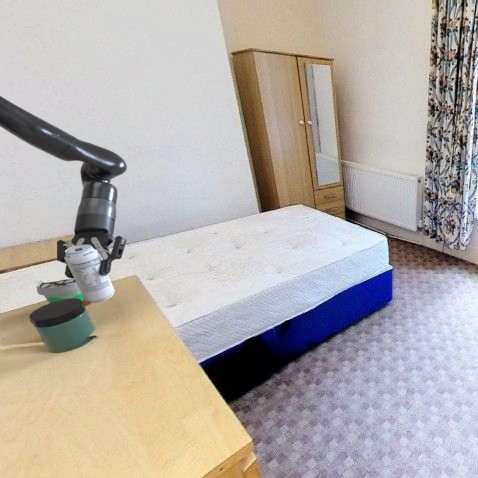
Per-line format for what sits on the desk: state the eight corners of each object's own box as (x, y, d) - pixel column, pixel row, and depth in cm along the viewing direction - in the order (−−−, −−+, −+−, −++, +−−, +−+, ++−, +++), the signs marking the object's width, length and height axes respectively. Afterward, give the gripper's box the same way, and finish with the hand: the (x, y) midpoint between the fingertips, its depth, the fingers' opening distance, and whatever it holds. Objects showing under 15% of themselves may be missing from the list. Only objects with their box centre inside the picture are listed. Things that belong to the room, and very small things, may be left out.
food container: (38, 321, 91) (20, 292, 87) (54, 308, 96) (38, 280, 92) (91, 314, 94) (77, 286, 90) (104, 302, 99) (91, 275, 95)
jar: (37, 355, 80) (18, 324, 76) (66, 330, 88) (50, 301, 84) (81, 350, 81) (65, 320, 78) (105, 326, 90) (92, 298, 86)
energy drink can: (114, 288, 91) (94, 241, 85) (117, 297, 87) (95, 249, 81) (85, 297, 87) (61, 248, 81) (86, 307, 83) (61, 256, 77)
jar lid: (21, 328, 76) (17, 321, 76) (54, 305, 85) (51, 299, 84) (65, 325, 78) (62, 318, 77) (94, 303, 86) (91, 297, 85)
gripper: (52, 213, 83) (39, 276, 77) (120, 210, 87) (112, 269, 82) (73, 225, 90) (63, 283, 84) (135, 221, 94) (129, 276, 88)
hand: (87, 276), depth 83 cm, fingers closed on energy drink can, 6 cm apart
